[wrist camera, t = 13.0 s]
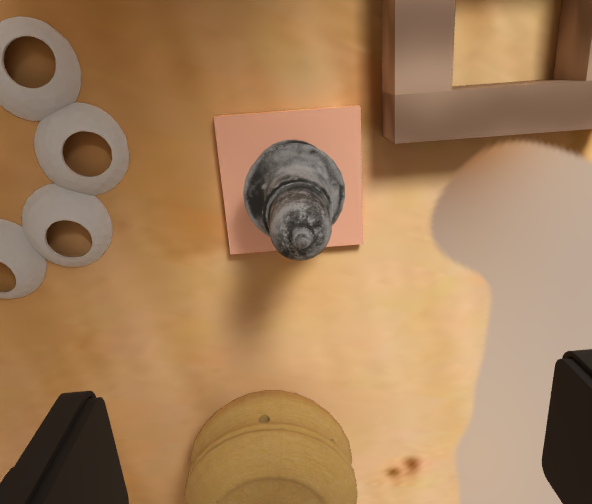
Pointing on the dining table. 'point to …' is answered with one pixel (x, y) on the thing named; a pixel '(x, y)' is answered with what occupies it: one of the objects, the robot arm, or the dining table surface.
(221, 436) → the pot
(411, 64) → the brown square wooden frame
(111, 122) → the paint palette
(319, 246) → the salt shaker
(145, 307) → the dining table surface
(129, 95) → the dining table surface
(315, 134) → the terracotta tile
